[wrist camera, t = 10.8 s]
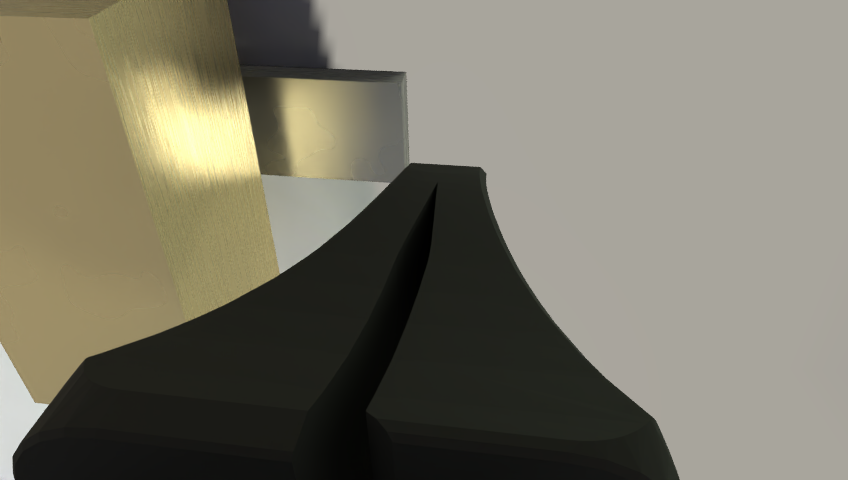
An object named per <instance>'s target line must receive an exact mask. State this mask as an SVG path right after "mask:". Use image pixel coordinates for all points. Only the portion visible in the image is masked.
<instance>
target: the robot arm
mask: <svg viewBox="0 0 848 480" xmlns="http://www.w3.org/2000/svg"><path fill="white" fill-rule="evenodd" d="M13 475H14V478H15V480H680V479H679V476H678V474H677V470H676V468H675V465H674V462H673V460H672V457H671V455H670V452H669V449H668V447H667V445H666V443H665V440H664V438H663V435H662V433H661V431H660V429H659V426H658V424H657V422H656V420H655V419H654V418H653V417H652V416H650V415H649V414H648V413H647V412H646V411H644V410H643V409H642V408H641V407H639V406H638V405H637V404H636V403H635V402H634V401H632V400H631V399H630V398H629V397H628V396H626V395H625V394H624V393H623V392H622V391H620V390H619V389H618V388H617V387H615V386H614V385H613V384H612V383H611V382H610V381H608V380H607V379H606V378H605V377H604V376H603V375H602V374H601V373H600V372H599V371H598V370H597V369H596V368H595V367H594V366H593V365H592V364H591V363H590V362H589V361H588V360H587V359H586V358H585V357H584V356H583V355H582V353H581V352H580V351H579V350H578V349H577V348H576V347H575V345H574V344H573V343H572V342H571V341H570V340H569V339H568V337H567V336H566V335H565V334H564V333H563V332H562V331H561V329H560V328H559V327H558V326H557V325H556V324H555V322H554V321H553V320H552V319H551V317H550V316H549V314H548V313H547V312H546V310H545V309H544V308H543V306H542V305H541V303H540V302H539V301H538V299H537V298H536V296H535V294H534V293H533V291H532V290H531V288H530V287H529V285H528V284H527V282H526V281H525V279H524V277H523V275H522V274H521V272H520V270H519V269H518V267H517V265H516V263H515V261H514V259H513V257H512V255H511V253H510V251H509V249H508V247H507V245H506V243H505V241H504V239H503V236H502V234H501V231H500V229H499V226H498V224H497V221H496V219H495V216H494V213H493V210H492V207H491V204H490V200H489V197H488V192H487V187H486V173H485V172H484V171H483V169H482V168H481V167H469V166H453V165H437V164H421V163H411V164H409V165H408V166H407V167H406V168H405V169H404V170H403V171H402V172H401V173H400V174H399V175H398V176H397V177H396V178H395V179H394V180H393V181H392V182H391V183H390V184H389V185H388V186H387V187H386V188H385V189H384V190H383V191H382V192H381V193H380V194H379V195H378V196H377V197H376V198H375V199H374V200H373V201H372V202H371V203H370V204H369V205H368V206H367V207H366V208H365V209H364V210H363V211H362V212H361V213H360V214H358V215H357V216H356V217H355V218H354V219H353V220H352V221H351V222H350V223H349V224H348V225H346V226H345V227H344V228H343V229H342V230H340V231H339V232H338V233H337V234H335V235H334V236H333V237H332V238H331V239H329V240H328V241H327V242H326V243H325V244H323V245H322V246H321V247H320V248H318V249H317V250H316V251H314V252H313V253H311V254H310V255H309V256H307V257H306V258H304V259H303V260H301V261H300V262H298V263H297V264H295V265H294V266H292V267H291V268H289V269H288V270H286V271H285V272H283V273H281V274H280V275H278V276H277V277H275V278H273V279H271V280H270V281H268V282H266V283H264V284H262V285H260V286H259V287H257V288H255V289H253V290H251V291H249V292H248V293H246V294H244V295H242V296H240V297H238V298H237V299H235V300H233V301H231V302H229V303H227V304H225V305H223V306H221V307H219V308H216V309H214V310H212V311H210V312H208V313H206V314H204V315H201V316H199V317H197V318H194V319H192V320H190V321H187V322H185V323H183V324H180V325H178V326H175V327H173V328H170V329H168V330H165V331H163V332H160V333H158V334H155V335H152V336H149V337H146V338H143V339H141V340H138V341H135V342H132V343H129V344H126V345H123V346H120V347H117V348H114V349H112V350H109V351H106V352H103V353H100V354H97V355H93V356H90V357H87V358H86V359H85V360H84V361H83V362H82V363H81V364H80V366H79V367H78V368H77V369H76V371H75V372H74V373H73V374H72V376H71V377H70V378H69V379H68V381H67V382H66V383H65V384H64V386H63V387H62V388H61V390H60V391H59V392H58V394H57V395H56V396H55V398H54V399H53V400H52V402H51V403H50V404H49V406H48V407H47V408H46V410H45V411H44V412H43V414H42V415H41V416H40V418H39V419H38V420H37V422H36V423H35V424H34V426H33V427H32V428H31V430H30V431H29V432H28V434H27V435H26V436H25V438H24V439H23V440H22V442H21V443H20V445H19V446H18V448H17V450H16V451H15V453H14V455H13Z"/></svg>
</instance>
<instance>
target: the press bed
mask: <svg viewBox="0 0 848 480" xmlns="http://www.w3.org/2000/svg"><path fill="white" fill-rule="evenodd" d="M240 70H241V75H242V81H243V86H244V91H245V96H246V101H247V107H248V112H249V117H250V122H251V127H252V133H253V138H254V143H255V148H256V153H257V159H258V164H259V169H260V174H264V175H279V176H295V177H310V178H326V179H341V180H357V181H372V182H389V183H391V182H392V181H393V180H394V179H395V178H396V177H397V176H398V175H399V174H400V173H401V172H402V171H403V170H404V169H405V168H406V167H407V166H408V165H409V140H408V112H407V81H406V72H393V71H369V70H346V69H323V68H299V67H275V66H252V65H240Z"/></svg>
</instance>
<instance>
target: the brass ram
mask: <svg viewBox="0 0 848 480" xmlns="http://www.w3.org/2000/svg"><path fill="white" fill-rule="evenodd" d="M278 275H280V273H279V268H278V263H277V257H276V252H275V247H274V242H273V237H272V231H271V226H270V221H269V216H268V211H267V205H266V200H265V195H264V190H263V185H262V179H261V174H260V169H259V164H258V159H257V153H256V148H255V143H254V138H253V133H252V127H251V122H250V117H249V112H248V107H247V101H246V96H245V91H244V86H243V81H242V75H241V70H240V65H239V60H238V55H237V49H236V44H235V39H234V34H233V29H232V23H231V18H230V13H229V8H228V3H227V0H0V342H1V344H2V346H3V347H4V349H5V351H6V353H7V354H8V356H9V358H10V360H11V361H12V363H13V365H14V367H15V368H16V370H17V372H18V374H19V375H20V377H21V379H22V381H23V382H24V384H25V386H26V388H27V389H28V391H29V393H30V395H31V396H32V398H33V400H34V402H35V403H43V404H50V403H51V402H52V400H53V399H54V398H55V396H56V395H57V394H58V392H59V391H60V390H61V388H62V387H63V386H64V384H65V383H66V382H67V381H68V379H69V378H70V377H71V376H72V374H73V373H74V372H75V371H76V369H77V368H78V367H79V366H80V364H81V363H82V362H83V361H84V360H85V359H86V358H87V357H90V356H93V355H97V354H100V353H103V352H106V351H109V350H112V349H114V348H117V347H120V346H123V345H126V344H129V343H132V342H135V341H138V340H141V339H143V338H146V337H149V336H152V335H155V334H158V333H160V332H163V331H165V330H168V329H170V328H173V327H175V326H178V325H180V324H183V323H185V322H187V321H190V320H192V319H194V318H197V317H199V316H201V315H204V314H206V313H208V312H210V311H212V310H214V309H216V308H219V307H221V306H223V305H225V304H227V303H229V302H231V301H233V300H235V299H237V298H238V297H240V296H242V295H244V294H246V293H248V292H249V291H251V290H253V289H255V288H257V287H259V286H260V285H262V284H264V283H266V282H268V281H270V280H271V279H273V278H275V277H277V276H278Z"/></svg>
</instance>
